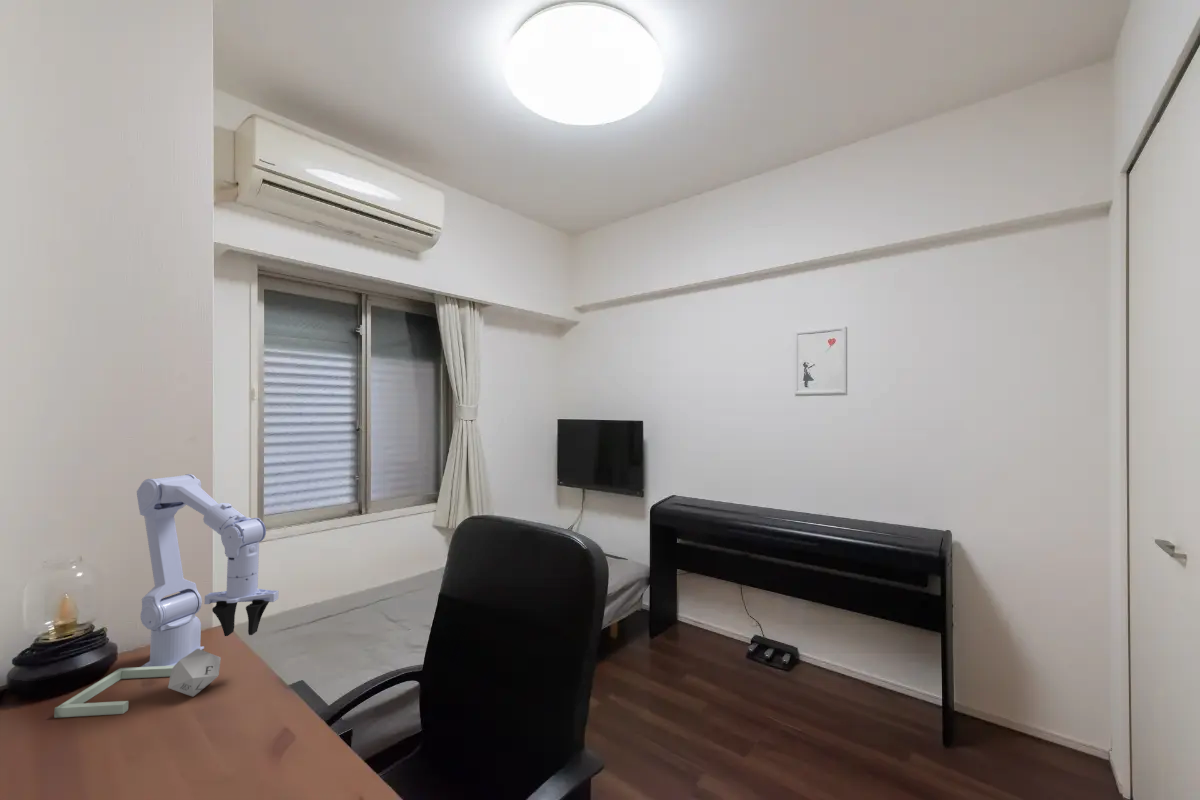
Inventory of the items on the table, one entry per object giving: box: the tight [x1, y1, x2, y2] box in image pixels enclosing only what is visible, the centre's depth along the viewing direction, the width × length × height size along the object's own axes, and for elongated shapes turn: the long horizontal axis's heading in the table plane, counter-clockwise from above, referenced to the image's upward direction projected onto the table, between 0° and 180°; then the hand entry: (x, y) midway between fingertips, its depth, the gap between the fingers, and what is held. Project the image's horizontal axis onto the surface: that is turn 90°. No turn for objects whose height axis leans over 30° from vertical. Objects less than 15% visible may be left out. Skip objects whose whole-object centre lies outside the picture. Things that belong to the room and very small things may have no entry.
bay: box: [53, 665, 175, 719], centre depth 100 cm, size 14×12×2 cm
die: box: [167, 649, 222, 698], centre depth 101 cm, size 8×9×10 cm
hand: (241, 633), depth 107 cm, fingers open, 4 cm apart
